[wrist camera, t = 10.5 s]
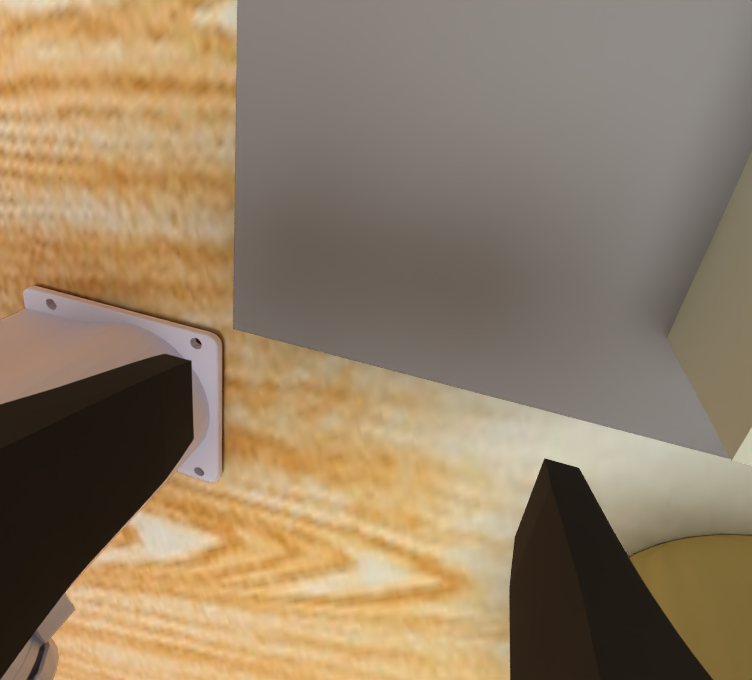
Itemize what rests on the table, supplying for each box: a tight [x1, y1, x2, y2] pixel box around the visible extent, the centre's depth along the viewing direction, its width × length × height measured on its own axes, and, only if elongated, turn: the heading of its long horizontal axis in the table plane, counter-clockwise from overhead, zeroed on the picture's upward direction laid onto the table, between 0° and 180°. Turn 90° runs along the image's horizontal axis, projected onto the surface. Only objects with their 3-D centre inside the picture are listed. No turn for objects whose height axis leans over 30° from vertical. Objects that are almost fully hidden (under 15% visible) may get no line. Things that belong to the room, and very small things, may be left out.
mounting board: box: [233, 0, 752, 459], centre depth 15 cm, size 22×18×1 cm
